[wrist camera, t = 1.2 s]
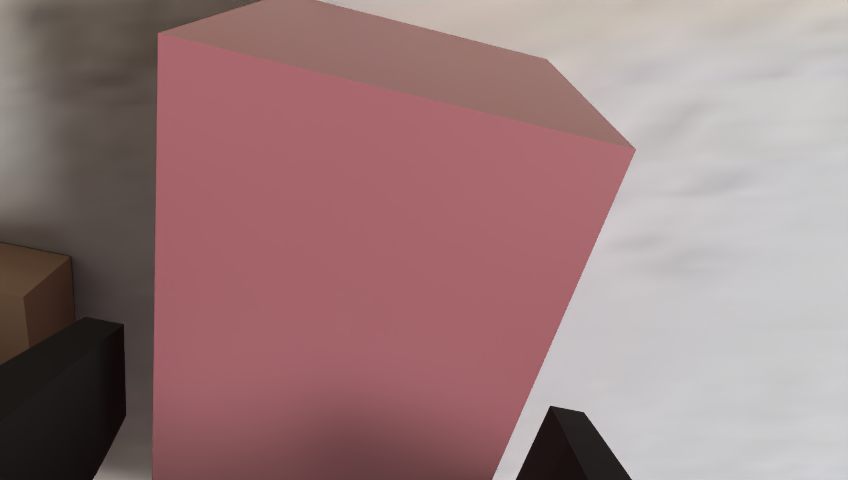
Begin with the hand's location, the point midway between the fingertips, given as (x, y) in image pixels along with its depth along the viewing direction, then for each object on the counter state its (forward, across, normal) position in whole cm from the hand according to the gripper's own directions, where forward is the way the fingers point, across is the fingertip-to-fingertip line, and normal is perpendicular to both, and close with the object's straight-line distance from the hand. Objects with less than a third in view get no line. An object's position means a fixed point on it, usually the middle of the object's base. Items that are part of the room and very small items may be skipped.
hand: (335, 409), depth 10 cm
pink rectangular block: (+3, 0, 0) cm, 3 cm away
